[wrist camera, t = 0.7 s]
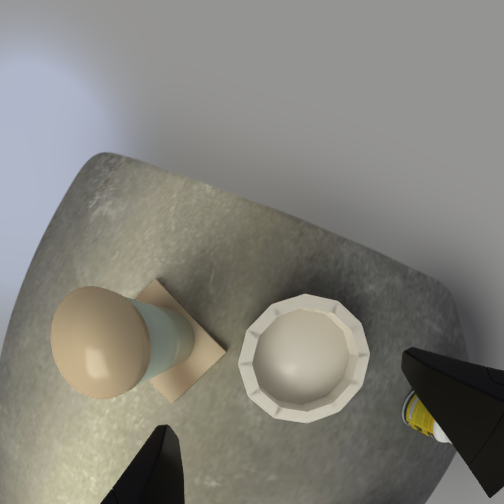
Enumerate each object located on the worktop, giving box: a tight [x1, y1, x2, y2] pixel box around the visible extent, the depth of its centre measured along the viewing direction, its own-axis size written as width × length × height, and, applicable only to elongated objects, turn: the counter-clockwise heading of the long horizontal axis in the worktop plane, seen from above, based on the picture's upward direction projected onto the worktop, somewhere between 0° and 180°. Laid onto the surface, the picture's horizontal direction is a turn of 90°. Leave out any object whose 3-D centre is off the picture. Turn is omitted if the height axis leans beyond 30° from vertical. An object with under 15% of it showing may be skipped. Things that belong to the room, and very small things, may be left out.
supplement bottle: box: [402, 390, 451, 443], centre depth 17 cm, size 5×5×8 cm
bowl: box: [238, 294, 370, 423], centre depth 21 cm, size 10×10×3 cm
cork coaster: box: [135, 279, 227, 404], centre depth 23 cm, size 7×9×1 cm
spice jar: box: [51, 286, 194, 399], centre depth 17 cm, size 5×5×12 cm
